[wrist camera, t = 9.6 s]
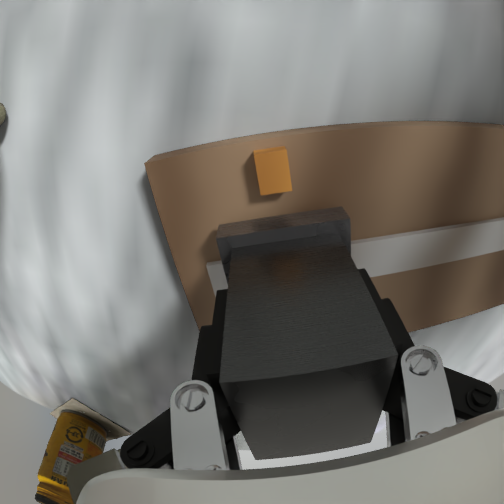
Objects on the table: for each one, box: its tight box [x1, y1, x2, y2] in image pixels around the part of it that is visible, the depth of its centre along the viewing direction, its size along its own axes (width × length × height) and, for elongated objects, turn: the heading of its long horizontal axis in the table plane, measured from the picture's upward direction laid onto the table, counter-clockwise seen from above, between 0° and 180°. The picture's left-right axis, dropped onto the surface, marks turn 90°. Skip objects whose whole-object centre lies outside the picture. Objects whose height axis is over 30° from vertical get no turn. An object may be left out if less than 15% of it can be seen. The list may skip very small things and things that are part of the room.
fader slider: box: [216, 206, 398, 460], centre depth 10 cm, size 5×6×7 cm
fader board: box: [144, 121, 504, 332], centre depth 14 cm, size 28×12×2 cm, turn 100°
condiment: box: [35, 398, 131, 504], centre depth 21 cm, size 7×8×12 cm
